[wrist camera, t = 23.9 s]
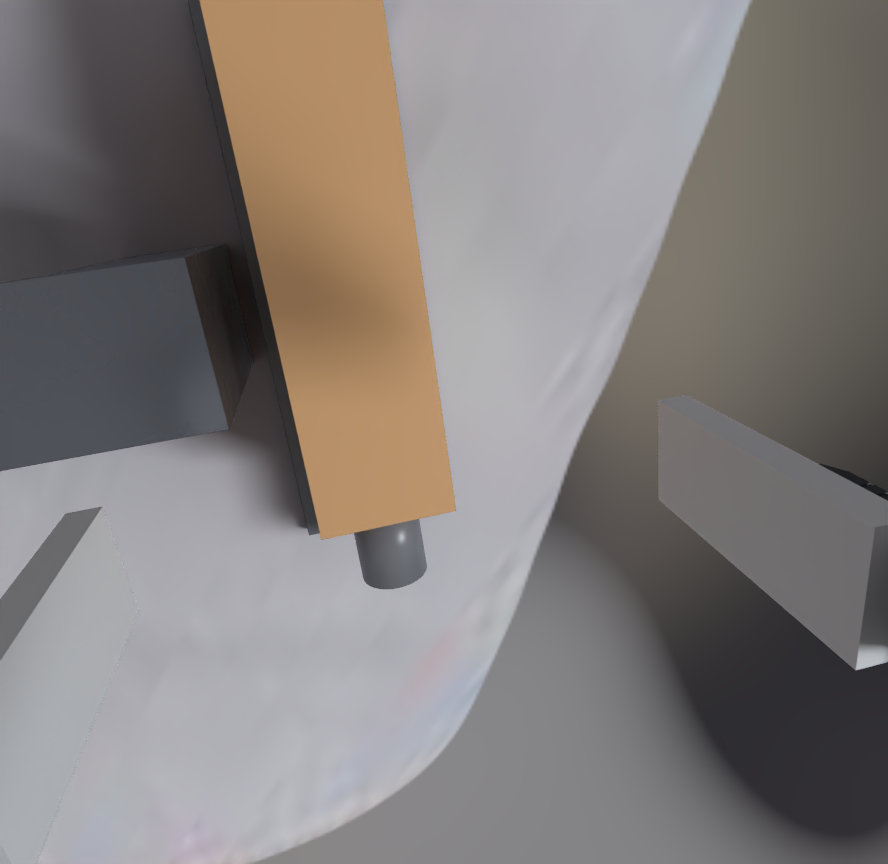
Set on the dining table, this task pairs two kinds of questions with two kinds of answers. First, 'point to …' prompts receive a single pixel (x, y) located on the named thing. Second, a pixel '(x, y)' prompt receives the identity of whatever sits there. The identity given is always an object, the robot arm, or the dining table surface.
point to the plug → (339, 264)
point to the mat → (253, 266)
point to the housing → (119, 355)
